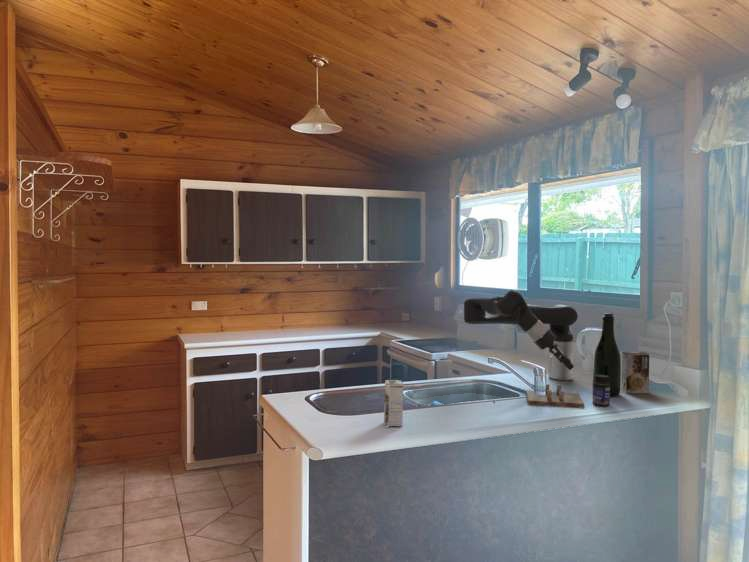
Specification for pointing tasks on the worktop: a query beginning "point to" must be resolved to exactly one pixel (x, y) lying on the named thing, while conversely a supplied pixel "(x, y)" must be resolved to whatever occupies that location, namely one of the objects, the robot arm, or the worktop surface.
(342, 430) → the worktop surface
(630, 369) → the coffee box
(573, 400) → the pin tray
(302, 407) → the worktop surface
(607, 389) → the pill bottle
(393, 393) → the syrup box
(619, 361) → the dark green wine bottle
